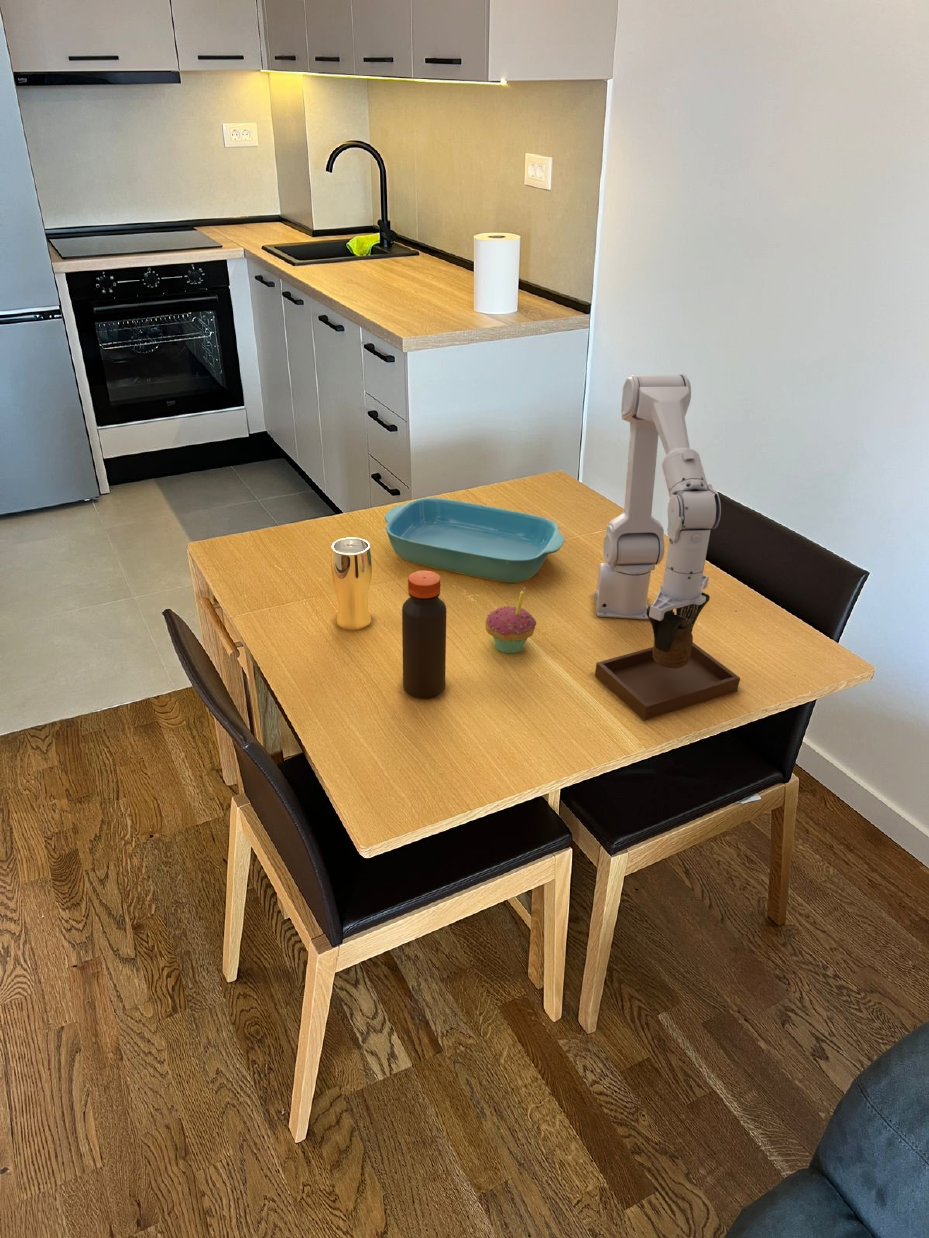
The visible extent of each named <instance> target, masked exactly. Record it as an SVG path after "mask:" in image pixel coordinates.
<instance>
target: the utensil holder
mask: <svg viewBox="0 0 929 1238" xmlns="http://www.w3.org/2000/svg"><path fill="white" fill-rule="evenodd" d="M689 606H690V605H689ZM692 606H693V605H692ZM697 606H698V605H697ZM694 607H695V604H694ZM683 608H684V607H683ZM688 608H689V607H688ZM685 609H686V608H685ZM691 609H692V608H691ZM696 609H698V608H696ZM681 610H683V609H681ZM687 611H688V610H687ZM693 611H694V610H693ZM684 612H685V611H684ZM695 612H697V611H695ZM686 613H687V612H686ZM681 614H682V612H681ZM689 614H690V613H689ZM692 614H693V613H692ZM694 614H695V613H694ZM695 615H696V614H695ZM677 616H680V617H682V618H684V619H683V621H682V622H681V623H680V625H679V626H678V628H677V630H676V632H675V635H674V638H673V642H672V645H671V647H670V649H669V651H668V652H664V651H662V650H660V649H657V648H656V646H655V639H654V638H653V639H654V640H653V645H652V647H653V659H654V660H655V662H656V663H658V664H659V665H661V666H664V667H667V668H681V667H683V666H685V665H686V664H687V663H688V661H689V659H690V654H691V648H692V642H693V643H694V641H693V640H694V636H693V628H694V626H693V624H692V622H691V621H690V620H689V619H688V618H686V617H684V616H681V615H677ZM685 616H686V615H685ZM688 616H689V615H688ZM691 616H692V615H691ZM693 616H694V615H693ZM694 617H695V616H694ZM691 619H692V618H691ZM693 619H694V618H693ZM693 619H692V620H693Z"/></svg>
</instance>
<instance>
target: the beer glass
mask: <svg viewBox="0 0 929 1238" xmlns="http://www.w3.org/2000/svg"><path fill="white" fill-rule="evenodd" d="M330 548H331V555H330V556H331V557H330V567H331V568H330V569H331V578H332V583H333V588H334V591H335V593H336V595H335V596H336V600H337V615H336V624H337V625H338V626H339V627H340V628H342V629H345V630H349V631H356V630H362V629H364V628H366V627H368V626H369V625H370V624H371V622H372V617H371V612H370V609H369V597H370V591H371V584H372V578H373V577H372V576H373V565H372V564H373V561H372V554H371V553H372V552H371V543H370V542H369V541H367V540H366V539H363V538H359V537H344V538H340V539H338V540H335V541H334V542H333V543H332V544H331V547H330Z"/></svg>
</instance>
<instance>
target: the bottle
mask: <svg viewBox="0 0 929 1238" xmlns="http://www.w3.org/2000/svg"><path fill="white" fill-rule="evenodd" d="M441 584H442V578H441V576H440V575H439V573H437V572H435V571H431V570H417V571H414V572H412V573H410V574H409V575H408V576H407V592H408V596H409V597H408V598H407V599H406V600H405V601H404V603H402V607H401V620H402V621H401V635H402V638H401V639H402V688H403V691H404V692H405V693H406V694H407V695H409V696H410V697H412V698H416V699H423V700H427V699H433V698H435V697H438V696H439V695H441V694H442V693H443V692H444V690H445V688H446V668H447V667H446V665H447V660H446V659H447V657H446V656H447V605H446V603H445V601H444V600H443V599H441V598H440V596H441V586H442V585H441Z"/></svg>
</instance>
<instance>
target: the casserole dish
mask: <svg viewBox="0 0 929 1238" xmlns="http://www.w3.org/2000/svg"><path fill="white" fill-rule="evenodd" d="M384 521H385V522H386V525H385V531H386V534H387V537H388V540H389V543H390V546H391V547H392V549H393V551H394V553H395V554H396V555H397V556H398V557H400V558H401V559H403V560H404V561H406V562H409V563H411V564H415V565H418V566H421V567H426V568H430V569H436V570H440V571H444V572H449V573H454V574H460V575H463V576H468V577H473V578H477V579H478V578H479V579H483V580H487V581H494V582H500V583H507V584H521V583H524V582H526V581H527V580H529V579H532V578H534V576H535V575H536V574H537V573H538V572H539V570H540V569H541V568H542V566H543V565H544V563H545V561H546V560H547V558H548V556H549V555H550V554H553V553H557V552H559V551H560V549H561V548H562V547H563V545H564V543H565V537H564V535H563V534H562V533H561V532H560V526H559V525H558V524H557V523H556V522H555V521H553V520H551V519H549V518H546V517H543V516H539V515H537V514H530V513H526V512H521V511H516V510H511V509H505V508H499V507H494V506H489V505H484V504H478V503H473V502H466V501H460V500H455V499H448V498H442V497H424V498H418V499H415V500H412V501H410V502H407V503H403V504H401V505H397V506H394V507H393V508H391V509H390V510H388V511H387V512H386V514H385V515H384Z"/></svg>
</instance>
